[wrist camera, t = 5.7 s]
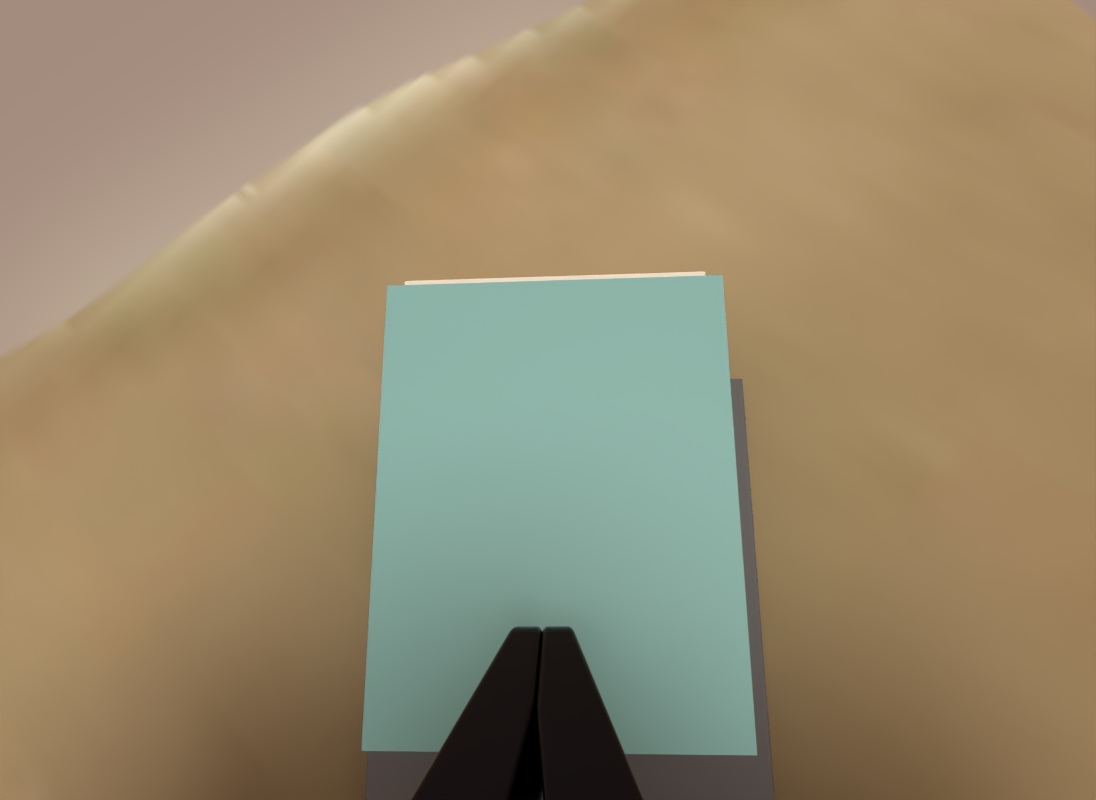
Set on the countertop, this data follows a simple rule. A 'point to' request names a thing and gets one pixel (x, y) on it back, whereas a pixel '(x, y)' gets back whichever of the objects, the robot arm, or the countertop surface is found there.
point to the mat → (664, 779)
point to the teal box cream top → (560, 504)
